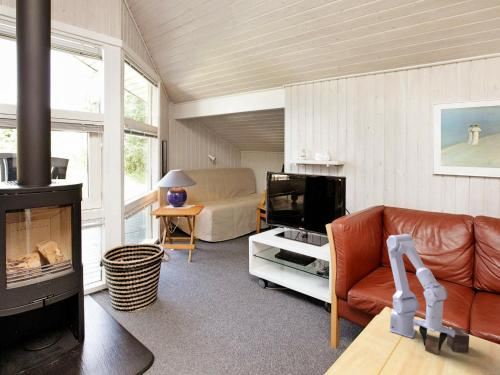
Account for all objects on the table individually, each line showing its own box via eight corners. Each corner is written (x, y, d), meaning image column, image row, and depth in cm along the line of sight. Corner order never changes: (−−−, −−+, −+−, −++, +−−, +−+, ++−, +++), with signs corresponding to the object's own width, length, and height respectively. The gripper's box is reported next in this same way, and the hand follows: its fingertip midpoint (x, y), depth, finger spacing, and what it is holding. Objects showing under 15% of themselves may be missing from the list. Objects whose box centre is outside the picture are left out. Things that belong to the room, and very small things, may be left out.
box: (468, 353, 126) (469, 336, 125) (452, 351, 127) (453, 334, 127) (461, 344, 132) (462, 328, 131) (446, 342, 133) (447, 326, 133)
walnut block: (425, 350, 128) (425, 339, 127) (426, 345, 131) (427, 334, 131) (437, 355, 125) (438, 343, 125) (439, 349, 129) (439, 338, 128)
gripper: (412, 313, 128) (410, 345, 129) (454, 325, 119) (452, 358, 121) (415, 307, 134) (414, 337, 135) (456, 317, 125) (454, 349, 126)
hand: (432, 346), depth 128 cm, fingers closed on walnut block, 4 cm apart
